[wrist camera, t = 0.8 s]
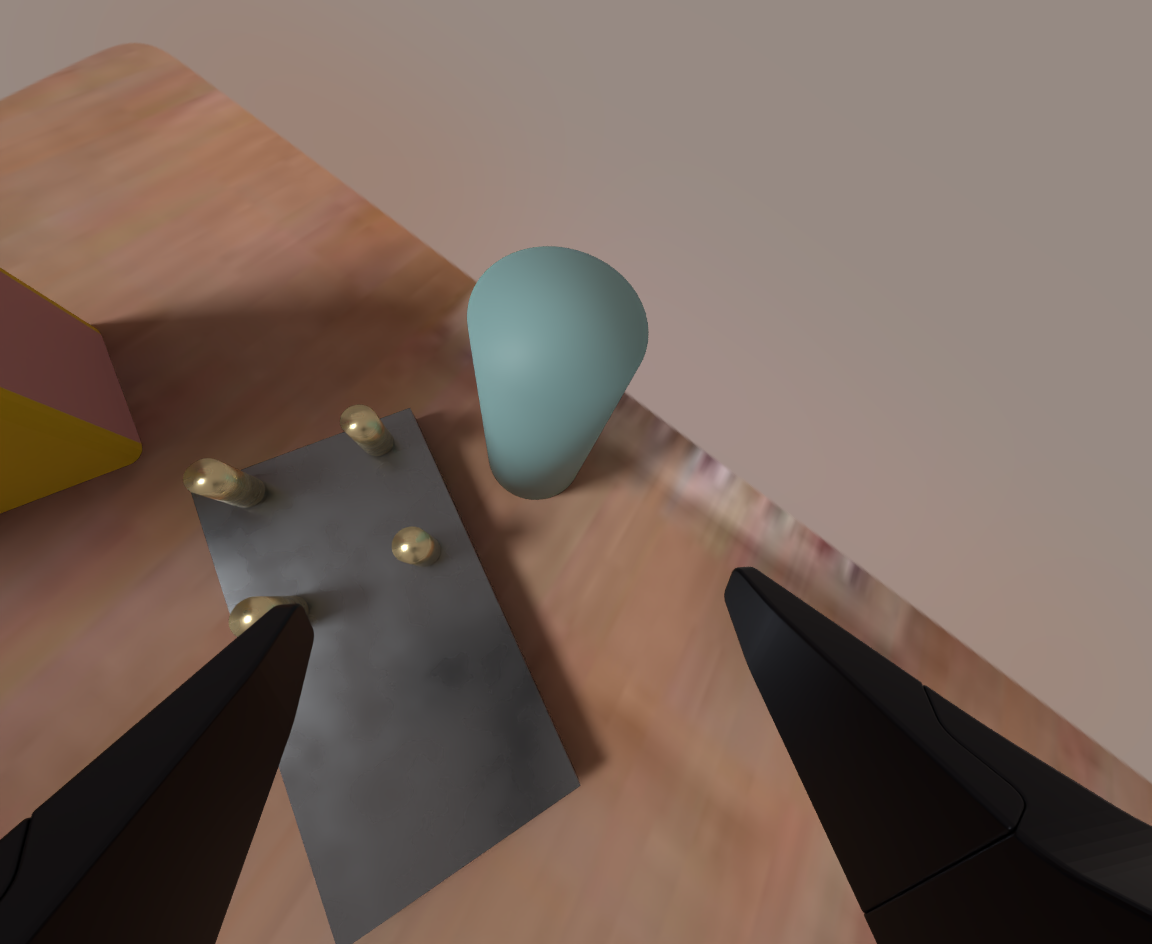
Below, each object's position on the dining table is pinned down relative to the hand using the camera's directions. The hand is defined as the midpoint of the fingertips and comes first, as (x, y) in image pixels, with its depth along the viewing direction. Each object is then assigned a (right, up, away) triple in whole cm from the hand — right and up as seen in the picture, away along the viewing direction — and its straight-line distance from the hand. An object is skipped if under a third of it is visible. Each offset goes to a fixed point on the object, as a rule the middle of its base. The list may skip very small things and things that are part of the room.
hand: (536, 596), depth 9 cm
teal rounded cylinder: (-2, +4, +16) cm, 17 cm away
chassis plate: (-9, -5, +12) cm, 16 cm away
